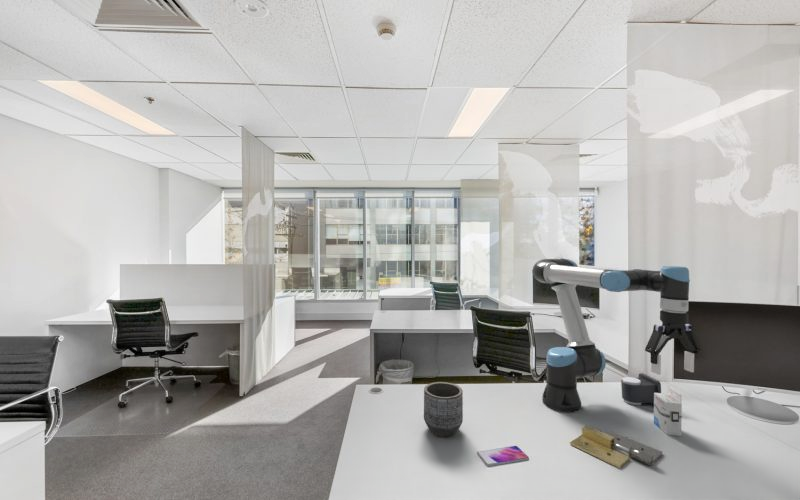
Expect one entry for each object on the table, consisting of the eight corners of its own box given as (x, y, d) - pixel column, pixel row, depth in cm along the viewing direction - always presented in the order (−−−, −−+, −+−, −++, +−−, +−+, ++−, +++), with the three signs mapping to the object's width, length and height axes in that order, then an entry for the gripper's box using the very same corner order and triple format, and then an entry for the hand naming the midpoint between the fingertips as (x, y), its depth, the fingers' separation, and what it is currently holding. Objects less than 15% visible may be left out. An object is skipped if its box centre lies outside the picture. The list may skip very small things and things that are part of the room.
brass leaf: (570, 444, 111) (569, 435, 111) (586, 433, 117) (586, 425, 117) (619, 468, 98) (619, 458, 98) (634, 455, 105) (634, 445, 105)
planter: (466, 424, 123) (466, 385, 123) (456, 445, 110) (457, 401, 110) (431, 416, 129) (431, 379, 129) (418, 435, 116) (418, 393, 116)
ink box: (653, 422, 125) (653, 384, 125) (667, 424, 124) (667, 385, 124) (666, 434, 117) (666, 393, 117) (682, 436, 116) (682, 394, 116)
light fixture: (615, 398, 148) (614, 374, 148) (644, 396, 148) (642, 372, 148) (633, 409, 137) (631, 383, 137) (664, 407, 137) (662, 381, 137)
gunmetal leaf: (596, 443, 111) (596, 434, 111) (611, 433, 118) (611, 424, 118) (649, 467, 99) (649, 457, 99) (662, 454, 105) (662, 444, 105)
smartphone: (475, 451, 106) (516, 445, 110) (475, 454, 106) (516, 447, 110) (486, 465, 99) (529, 457, 103) (487, 468, 99) (529, 460, 103)
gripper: (653, 314, 106) (652, 378, 107) (715, 312, 111) (714, 374, 111) (633, 309, 114) (632, 369, 114) (692, 308, 118) (691, 366, 118)
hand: (672, 372), depth 113 cm, fingers open, 13 cm apart
